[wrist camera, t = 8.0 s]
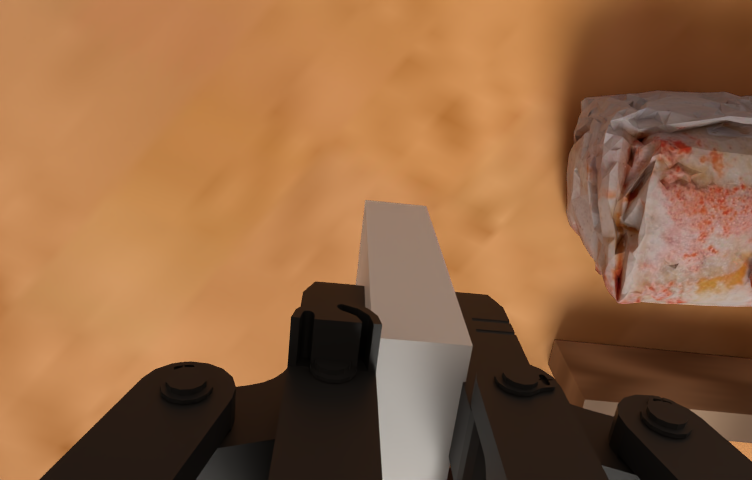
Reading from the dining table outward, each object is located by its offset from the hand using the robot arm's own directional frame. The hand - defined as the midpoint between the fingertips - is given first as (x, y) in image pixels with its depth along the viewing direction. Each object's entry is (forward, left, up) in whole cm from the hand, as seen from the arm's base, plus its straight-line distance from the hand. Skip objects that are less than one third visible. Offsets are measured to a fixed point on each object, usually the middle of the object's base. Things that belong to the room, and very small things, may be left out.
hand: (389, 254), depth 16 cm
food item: (+15, 0, -14) cm, 20 cm away
